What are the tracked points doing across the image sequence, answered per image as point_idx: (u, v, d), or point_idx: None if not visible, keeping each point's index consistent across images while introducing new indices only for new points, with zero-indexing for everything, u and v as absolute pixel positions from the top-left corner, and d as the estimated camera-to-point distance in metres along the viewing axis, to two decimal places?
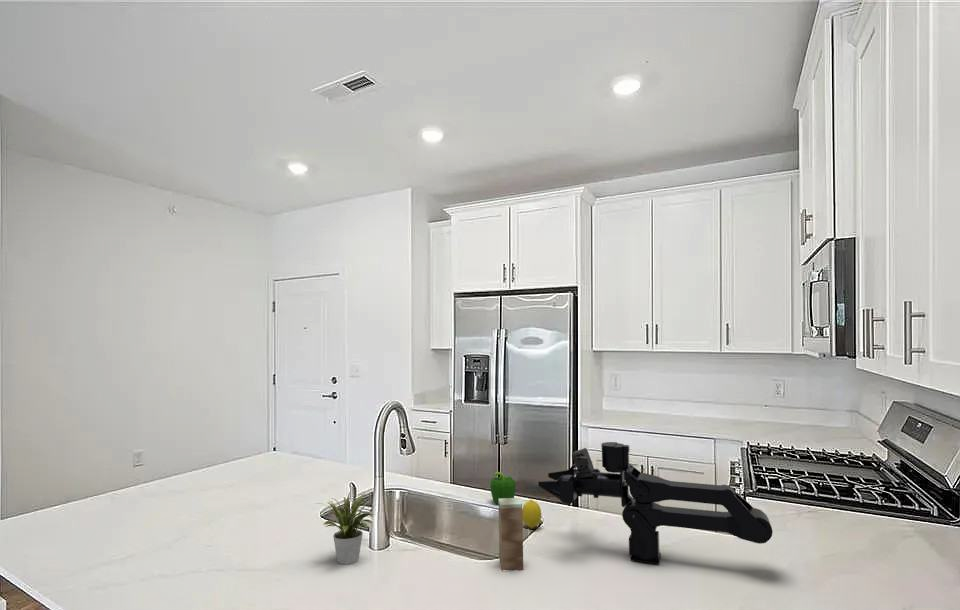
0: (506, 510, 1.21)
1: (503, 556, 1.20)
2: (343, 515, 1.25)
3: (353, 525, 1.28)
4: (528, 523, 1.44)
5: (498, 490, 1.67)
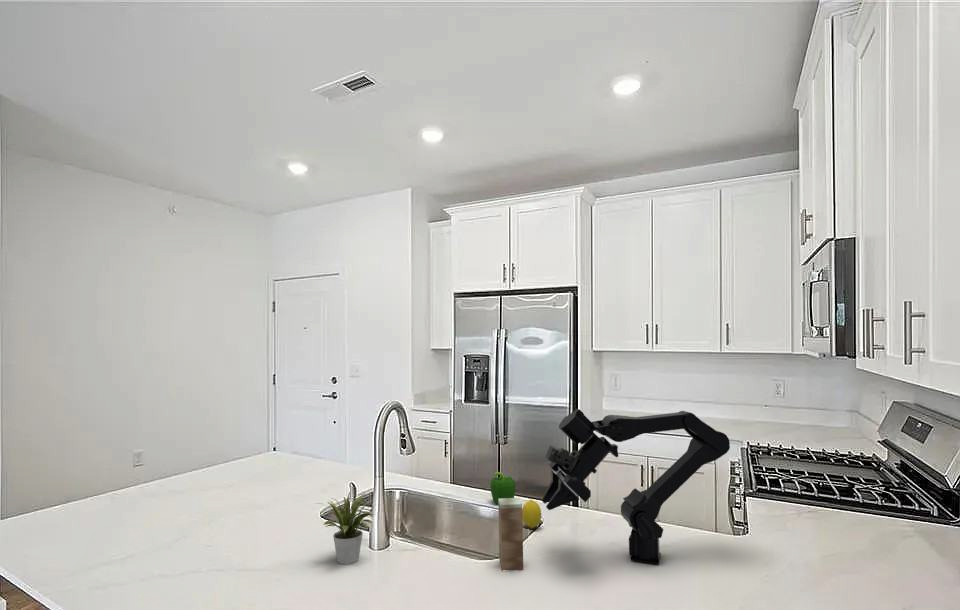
0: (506, 510, 1.21)
1: (503, 556, 1.20)
2: (343, 515, 1.25)
3: (353, 525, 1.28)
4: (528, 523, 1.44)
5: (498, 490, 1.67)
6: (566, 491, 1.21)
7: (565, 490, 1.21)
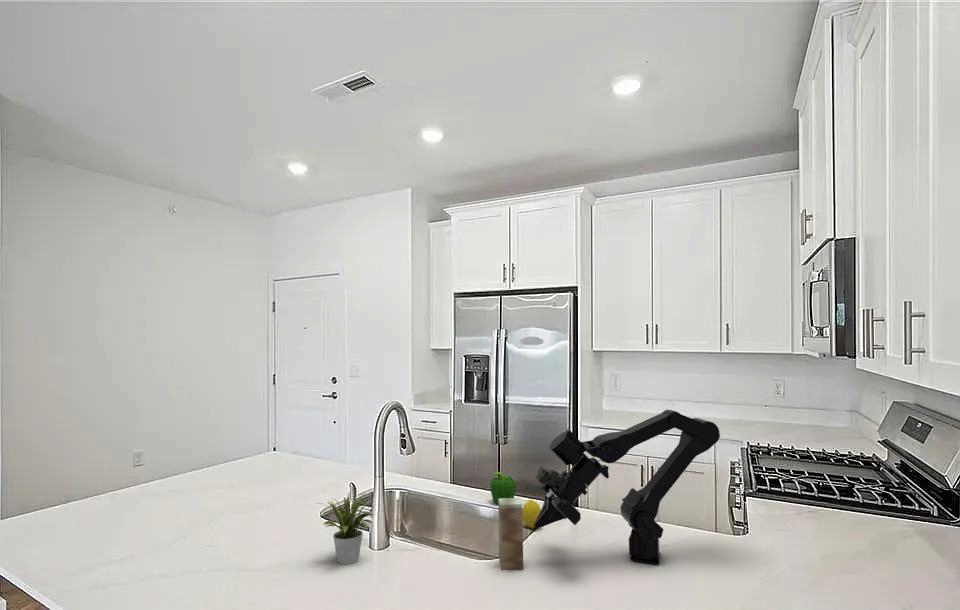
0: (506, 510, 1.21)
1: (503, 556, 1.20)
2: (343, 515, 1.25)
3: (353, 525, 1.28)
4: (528, 523, 1.44)
5: (498, 490, 1.67)
6: (554, 510, 1.23)
7: (553, 509, 1.23)
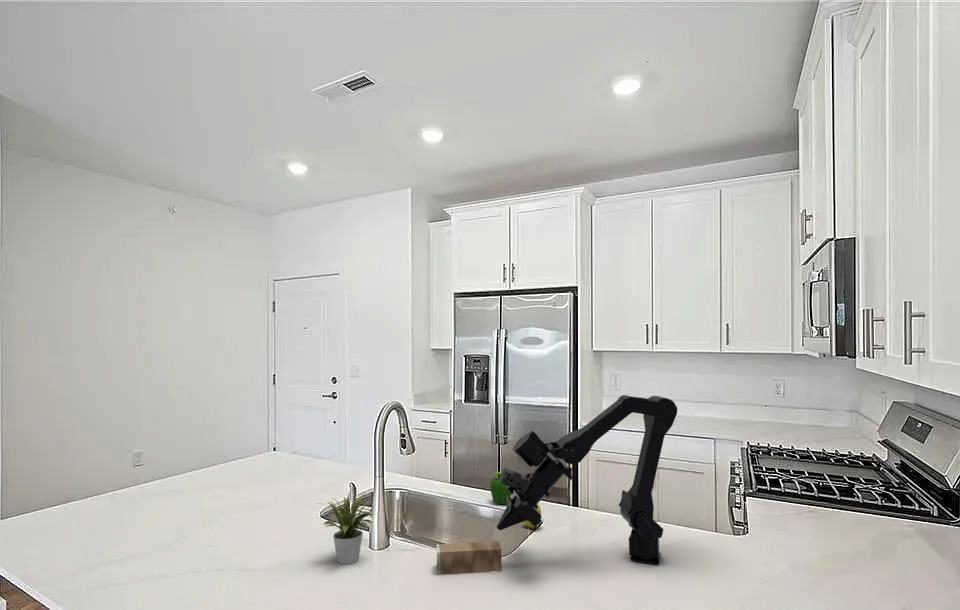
0: (442, 569, 1.18)
1: (487, 570, 1.19)
2: (343, 515, 1.25)
3: (353, 525, 1.28)
4: (528, 523, 1.44)
5: (498, 490, 1.67)
6: (516, 512, 1.22)
7: (515, 511, 1.22)
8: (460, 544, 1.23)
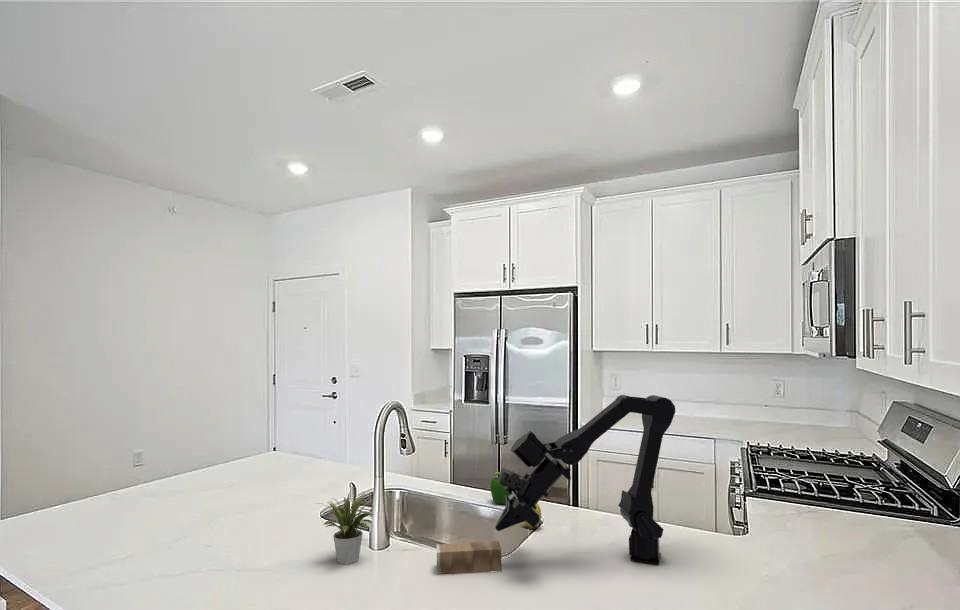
0: (442, 569, 1.18)
1: (487, 570, 1.19)
2: (343, 515, 1.25)
3: (353, 525, 1.28)
4: (528, 523, 1.44)
5: (498, 490, 1.67)
6: (515, 512, 1.22)
7: (514, 511, 1.22)
8: (460, 544, 1.23)
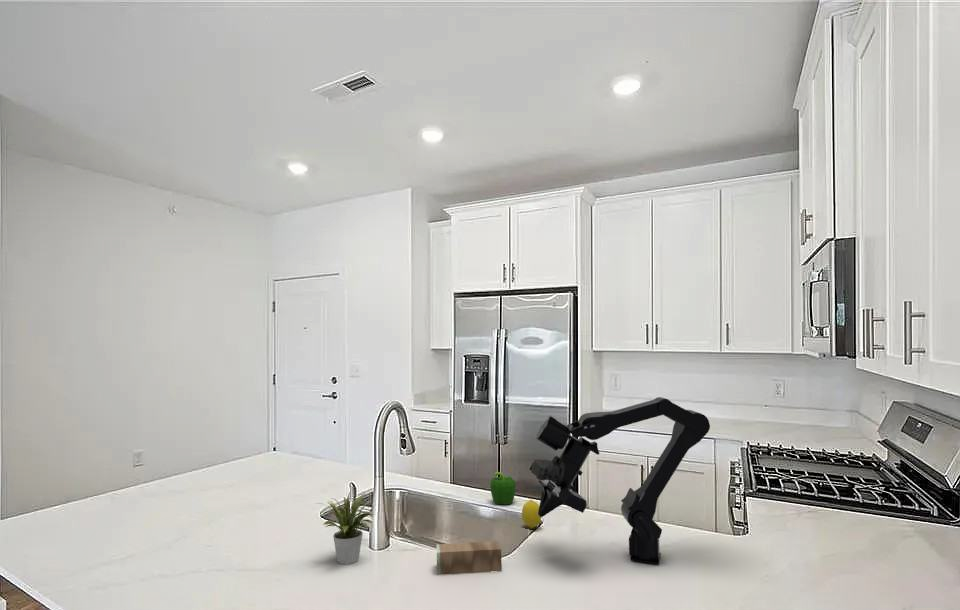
0: (442, 569, 1.18)
1: (487, 570, 1.19)
2: (343, 515, 1.25)
3: (353, 525, 1.28)
4: (528, 523, 1.44)
5: (498, 490, 1.67)
6: (555, 497, 1.26)
7: (554, 496, 1.26)
8: (460, 544, 1.23)
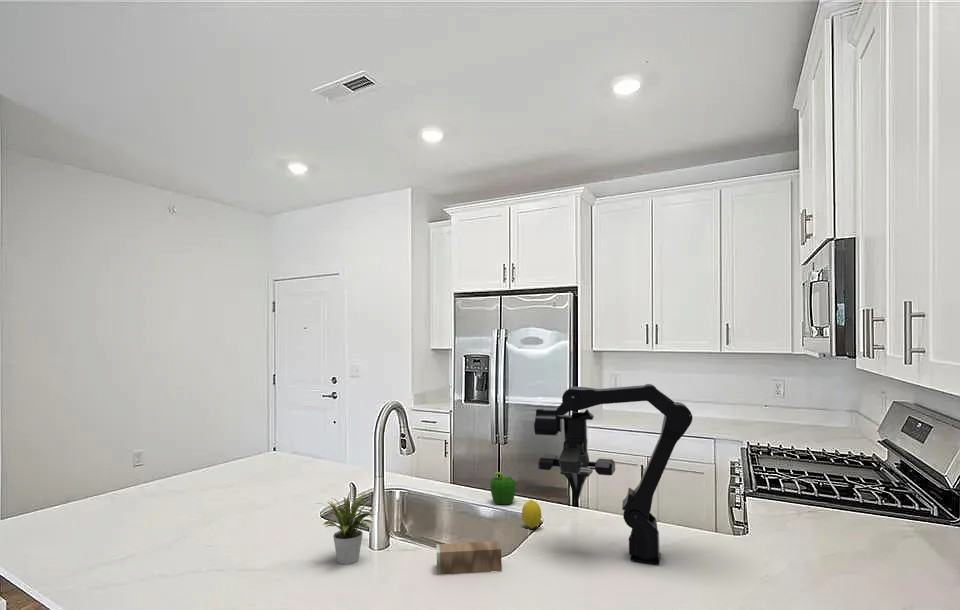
0: (442, 569, 1.18)
1: (487, 570, 1.19)
2: (343, 515, 1.25)
3: (353, 525, 1.28)
4: (528, 523, 1.44)
5: (498, 490, 1.67)
6: None
7: None
8: (460, 544, 1.23)
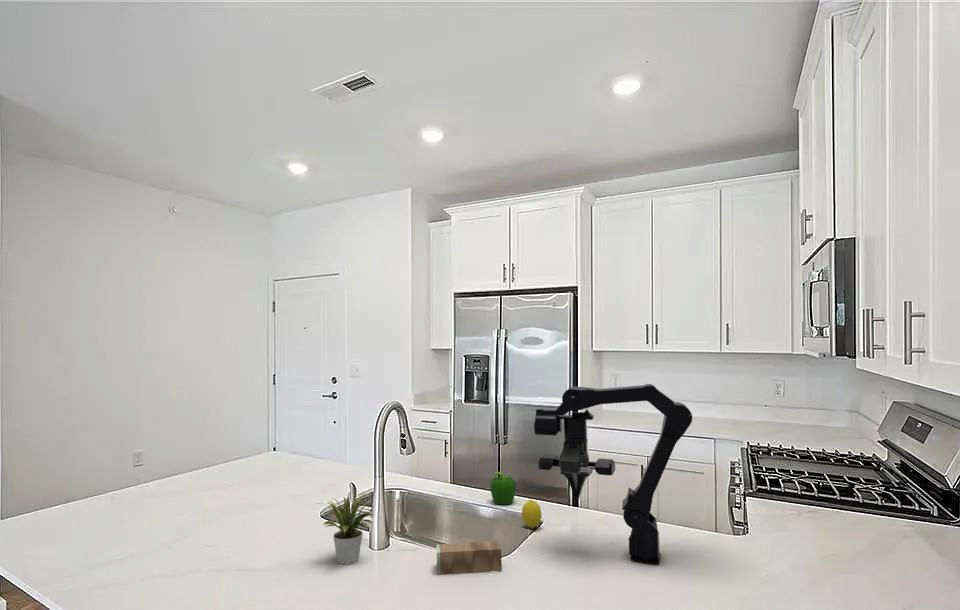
0: (442, 569, 1.18)
1: (487, 570, 1.19)
2: (343, 515, 1.25)
3: (353, 525, 1.28)
4: (528, 523, 1.44)
5: (498, 490, 1.67)
6: None
7: None
8: (460, 544, 1.23)
